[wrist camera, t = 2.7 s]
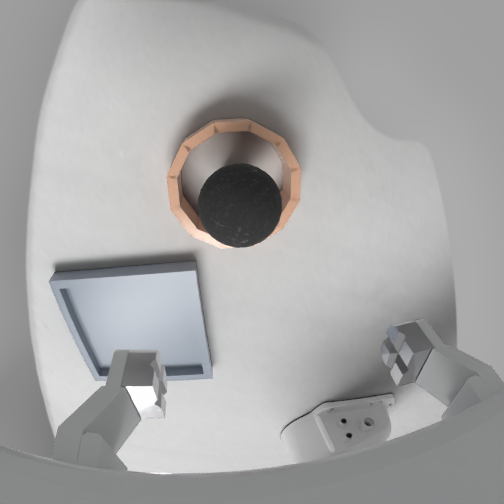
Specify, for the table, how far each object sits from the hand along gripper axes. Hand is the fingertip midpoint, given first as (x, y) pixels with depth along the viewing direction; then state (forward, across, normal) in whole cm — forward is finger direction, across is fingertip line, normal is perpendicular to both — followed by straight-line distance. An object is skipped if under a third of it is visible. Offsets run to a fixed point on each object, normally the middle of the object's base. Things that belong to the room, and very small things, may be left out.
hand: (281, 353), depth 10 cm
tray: (+20, +12, +16) cm, 28 cm away
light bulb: (+20, 0, -1) cm, 20 cm away
